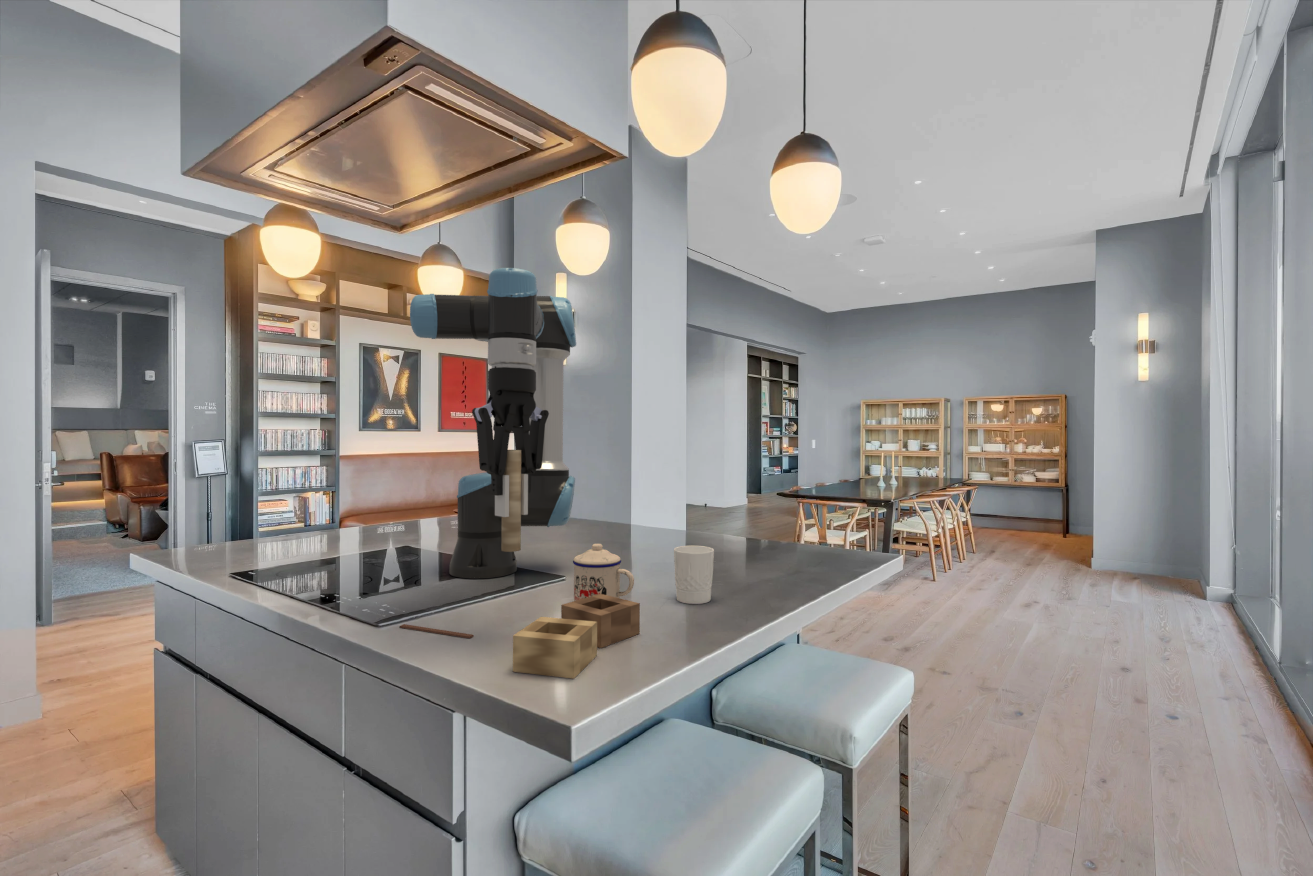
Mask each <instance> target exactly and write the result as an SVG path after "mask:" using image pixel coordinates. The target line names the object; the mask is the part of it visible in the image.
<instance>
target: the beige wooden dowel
mask: <svg viewBox="0 0 1313 876" xmlns="http://www.w3.org/2000/svg"><path fill="white" fill-rule="evenodd" d="M503 475H509V517H502V544H501V550H502V551H505V552H514V553H515V552H519V551H521V548H522V547H521V546H522V545H521V544H522V540H521V537H522V533H521V532H522V531H521V530H522V526H521V450H516V449H508V451H507V459H506V467H505V473H504V474H503Z"/></svg>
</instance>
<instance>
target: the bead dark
mask: <svg viewBox="0 0 1313 876" xmlns="http://www.w3.org/2000/svg"><path fill="white" fill-rule="evenodd" d="M640 604H641V603H640V602H636V601H632V600H628V599H624V598H616V597H612V596H608V595H604V594H598V595H594V596H591V597H587V598H584V599H580V600H577V601H574V600H573V601H570V602H566V603H562V604H561V609H560V610H561V611H560V613H561V614H560V615H561V618H562V619H573V620H584V621H595V622H597V648H599V649H603V648H605V647H608V646H611V645H613V644H615V643H619V642H621V641H624V640H627V639H629V638H631V637H634V636H636V635H639V634H640V627H641V626H640V625H641V624H640V623H641V621H640V620H641V618H640V615H641V613H640V612H641V611H640V610H641V605H640Z"/></svg>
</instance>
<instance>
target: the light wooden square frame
mask: <svg viewBox="0 0 1313 876" xmlns="http://www.w3.org/2000/svg"><path fill="white" fill-rule="evenodd" d="M597 656H598V647H597V622H595V621H584V620H573V619H562V618H560V617H550V616H549V617H548V616H540V617H538V618H537V619H535V620H534V621H532V622H530V623H529V624H528V625H526V626H525V627H524V628H522V629H520V630H519V631H517V632H516V633H514V634H513V635H512V672H513V673H522V674H528V675H529V674H530V675H539V676H547V677H554V678H555V677H556V678H566V679H574V680H575V678H576V677H578V675H579V674H581V672H582V671H583V670H584V669H585V668H586V667H587V666H588V665H589V664H590V663H591V662H592V661H593V660H594V659H595V658H596V657H597Z"/></svg>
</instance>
